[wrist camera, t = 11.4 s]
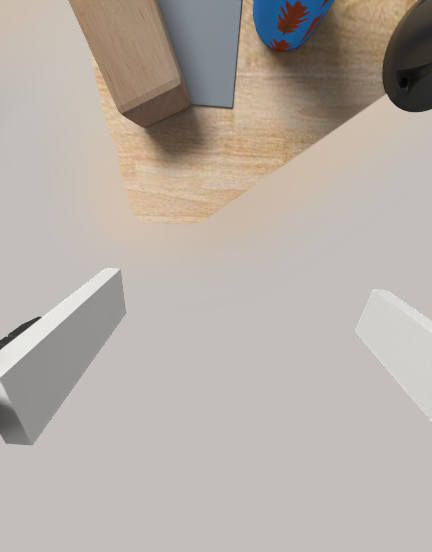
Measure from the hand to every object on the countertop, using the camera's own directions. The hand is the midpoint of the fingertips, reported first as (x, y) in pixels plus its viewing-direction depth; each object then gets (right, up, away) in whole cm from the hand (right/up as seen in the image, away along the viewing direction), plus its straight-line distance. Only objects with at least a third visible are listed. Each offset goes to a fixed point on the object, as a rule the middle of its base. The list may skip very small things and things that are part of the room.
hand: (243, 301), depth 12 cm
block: (-10, +27, +22) cm, 37 cm away
